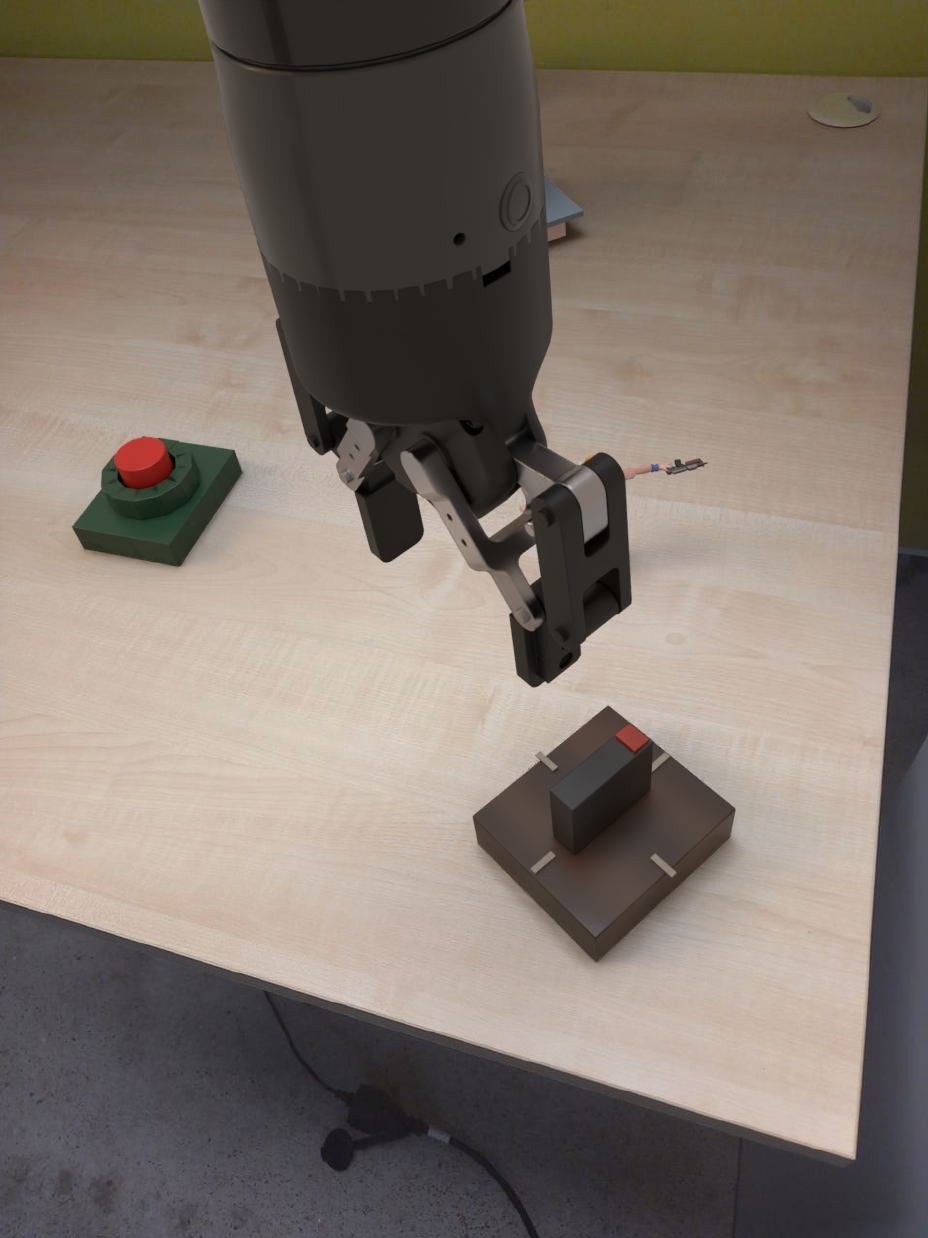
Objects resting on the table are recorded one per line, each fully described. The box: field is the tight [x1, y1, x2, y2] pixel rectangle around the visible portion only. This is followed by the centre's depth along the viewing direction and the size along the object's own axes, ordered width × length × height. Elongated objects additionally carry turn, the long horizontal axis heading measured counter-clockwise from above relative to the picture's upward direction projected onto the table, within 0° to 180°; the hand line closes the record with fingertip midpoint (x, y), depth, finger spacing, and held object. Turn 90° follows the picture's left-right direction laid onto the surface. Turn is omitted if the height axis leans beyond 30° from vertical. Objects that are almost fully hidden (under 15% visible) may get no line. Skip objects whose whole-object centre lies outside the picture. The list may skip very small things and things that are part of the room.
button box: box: [71, 435, 243, 567], centre depth 74 cm, size 10×8×4 cm
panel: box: [471, 705, 737, 963], centre depth 53 cm, size 10×10×3 cm
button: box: [114, 436, 173, 489], centre depth 72 cm, size 4×4×2 cm
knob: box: [549, 722, 655, 855], centre depth 50 cm, size 6×2×5 cm, turn 130°
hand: (469, 605), depth 38 cm, fingers open, 8 cm apart
